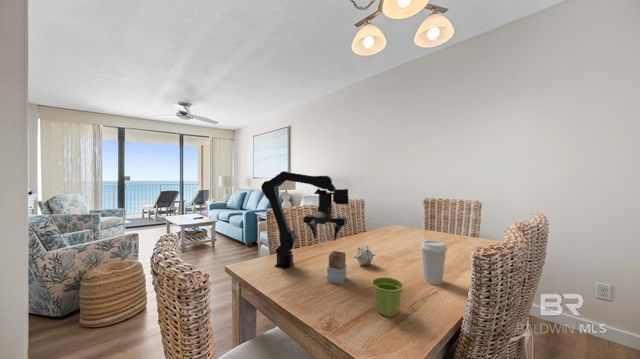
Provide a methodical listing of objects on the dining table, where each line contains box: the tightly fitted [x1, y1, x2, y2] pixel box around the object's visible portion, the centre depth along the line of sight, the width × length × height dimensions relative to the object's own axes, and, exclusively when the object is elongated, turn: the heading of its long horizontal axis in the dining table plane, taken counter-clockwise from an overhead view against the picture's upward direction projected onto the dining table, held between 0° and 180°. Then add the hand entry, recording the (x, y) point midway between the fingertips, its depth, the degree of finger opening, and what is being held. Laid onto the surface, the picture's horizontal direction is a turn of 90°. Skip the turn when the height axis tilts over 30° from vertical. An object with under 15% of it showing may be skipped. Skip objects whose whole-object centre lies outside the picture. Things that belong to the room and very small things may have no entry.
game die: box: [353, 246, 376, 267], centre depth 115 cm, size 9×8×10 cm
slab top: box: [326, 264, 347, 275], centre depth 99 cm, size 6×6×2 cm
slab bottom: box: [326, 275, 347, 285], centre depth 100 cm, size 6×6×2 cm
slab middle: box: [327, 270, 347, 280], centre depth 99 cm, size 6×6×2 cm
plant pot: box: [371, 276, 405, 317], centre depth 77 cm, size 9×9×9 cm
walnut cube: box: [328, 250, 346, 269], centre depth 99 cm, size 5×5×5 cm
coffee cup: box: [419, 239, 448, 286], centre depth 98 cm, size 10×10×15 cm
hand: (325, 239), depth 112 cm, fingers open, 9 cm apart
